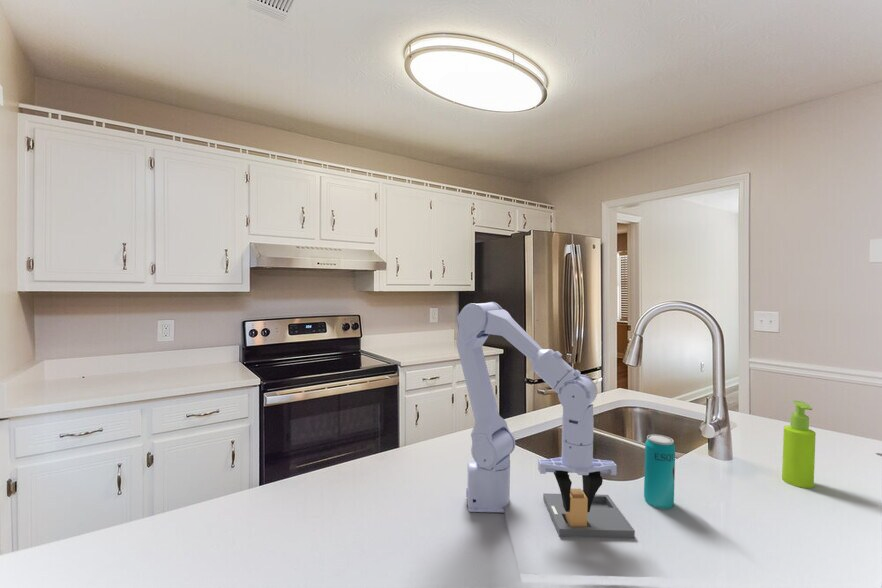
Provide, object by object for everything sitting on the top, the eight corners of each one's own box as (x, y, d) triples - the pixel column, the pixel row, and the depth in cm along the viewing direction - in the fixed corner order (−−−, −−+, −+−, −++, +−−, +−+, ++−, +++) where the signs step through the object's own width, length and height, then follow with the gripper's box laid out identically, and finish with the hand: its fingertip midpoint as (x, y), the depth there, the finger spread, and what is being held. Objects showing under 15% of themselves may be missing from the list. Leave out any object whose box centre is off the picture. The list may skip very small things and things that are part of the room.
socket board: (559, 541, 77) (559, 528, 77) (542, 501, 91) (542, 490, 91) (634, 543, 77) (634, 530, 77) (605, 502, 91) (605, 491, 91)
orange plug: (570, 526, 78) (570, 495, 78) (565, 517, 81) (565, 487, 81) (587, 527, 78) (587, 495, 78) (581, 517, 81) (582, 487, 81)
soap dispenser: (789, 487, 98) (792, 404, 98) (778, 475, 105) (780, 397, 104) (820, 492, 96) (823, 407, 96) (807, 479, 103) (810, 400, 102)
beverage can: (677, 515, 86) (679, 444, 86) (648, 512, 87) (649, 442, 87) (668, 501, 92) (670, 434, 91) (640, 498, 93) (642, 432, 92)
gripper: (544, 447, 75) (543, 520, 76) (624, 448, 75) (622, 521, 75) (536, 433, 82) (535, 500, 83) (609, 434, 82) (607, 501, 83)
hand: (576, 509), depth 80 cm, fingers closed on orange plug, 3 cm apart
